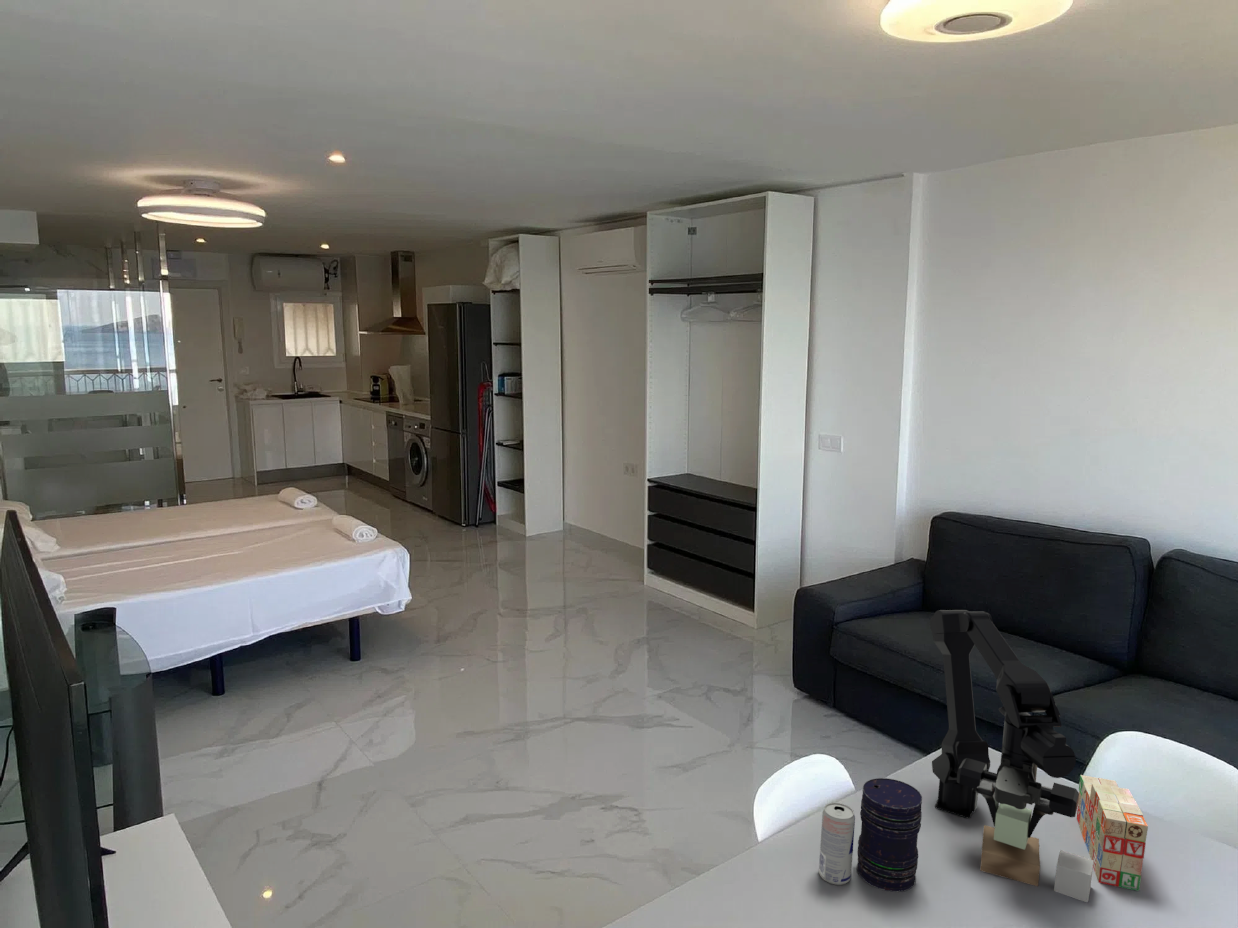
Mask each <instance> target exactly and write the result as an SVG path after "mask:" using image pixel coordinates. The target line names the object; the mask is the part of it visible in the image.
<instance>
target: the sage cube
mask: <svg viewBox="0 0 1238 928" xmlns="http://www.w3.org/2000/svg"><path fill="white" fill-rule="evenodd" d="M1032 813H1033V809H1029V808H1027V807H1026V808H1025V809H1017V808H1015V807H1013V806H1010V805H1007V804H1001V803H999V807H998V810H997V812H996V820H995V827H994V828H995V830H994V840H997V841H1000V842H1003V843H1006V844H1009V845H1012V846H1015V847H1018V848H1021V849H1024V850H1025V848H1026V845H1027V842H1028V839H1029V838H1028V837H1027V836H1028V828H1029V824H1030V821H1031V817H1032Z"/></svg>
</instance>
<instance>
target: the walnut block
mask: <svg viewBox="0 0 1238 928" xmlns="http://www.w3.org/2000/svg"><path fill="white" fill-rule="evenodd" d="M994 830H995V827H994V826H990V825H985V824H984V825H983V832H982V841H981V842H982V844H981V858H980V872H983V873H984V872H985V873H988V874H991V875H995V876H998V877H999V876H1000V877H1003V878H1005V879H1010V880H1013V881H1016V882H1020V883H1024V884H1028V885H1032V886H1035V887H1039V881H1040V880H1039V879H1040V871H1041V870H1040V869H1041V865H1040V864H1041V857H1040V839H1039V838H1038V837H1033V836H1031V837H1030V838H1029V839H1028V842H1027V845H1026V848H1025V850H1024V849H1021V848H1018V847H1015V846H1012V845H1009V844H1006V843H1003V842H1000V841H997V840H994Z"/></svg>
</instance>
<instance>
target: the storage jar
mask: <svg viewBox="0 0 1238 928" xmlns="http://www.w3.org/2000/svg"><path fill="white" fill-rule="evenodd" d="M922 804H923V796H922V794H921V792H920V791H919V790H918V789H916V788H915V787H914V786H912V785H910V784H909V783H906V782H903V781H901V780H897V779H894V778H887V777H884V778H883V777H878V778H872V779H869V780H867V781H866V782H864V784H863V785H862V795H861V800H860V813H859V815H860V820H861V826H860V827H861V828H860V835H859V837H858V841H857V844H858V845H857V855H856V856H857V865H856V870H857V873H858V875H859V876H860V878H861V879H862V880H863V881H864V882H866V883H867V884H869V885H871V886H872V887H874V888H876V889H878V890H881V891H886V892H893V893H896V892H898V893H899V892H905V891H906V892H907V891H908V890H910V889H912V888H913V887H914V886H915V885H916V879H917V878H916V877H917V876H916V873H917V869H918V862H919V861H918V858H919V849H918V847H917V845H918V835H919V833H920V830H921V828H922V827H921V825H922V823H921V822H922Z"/></svg>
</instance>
